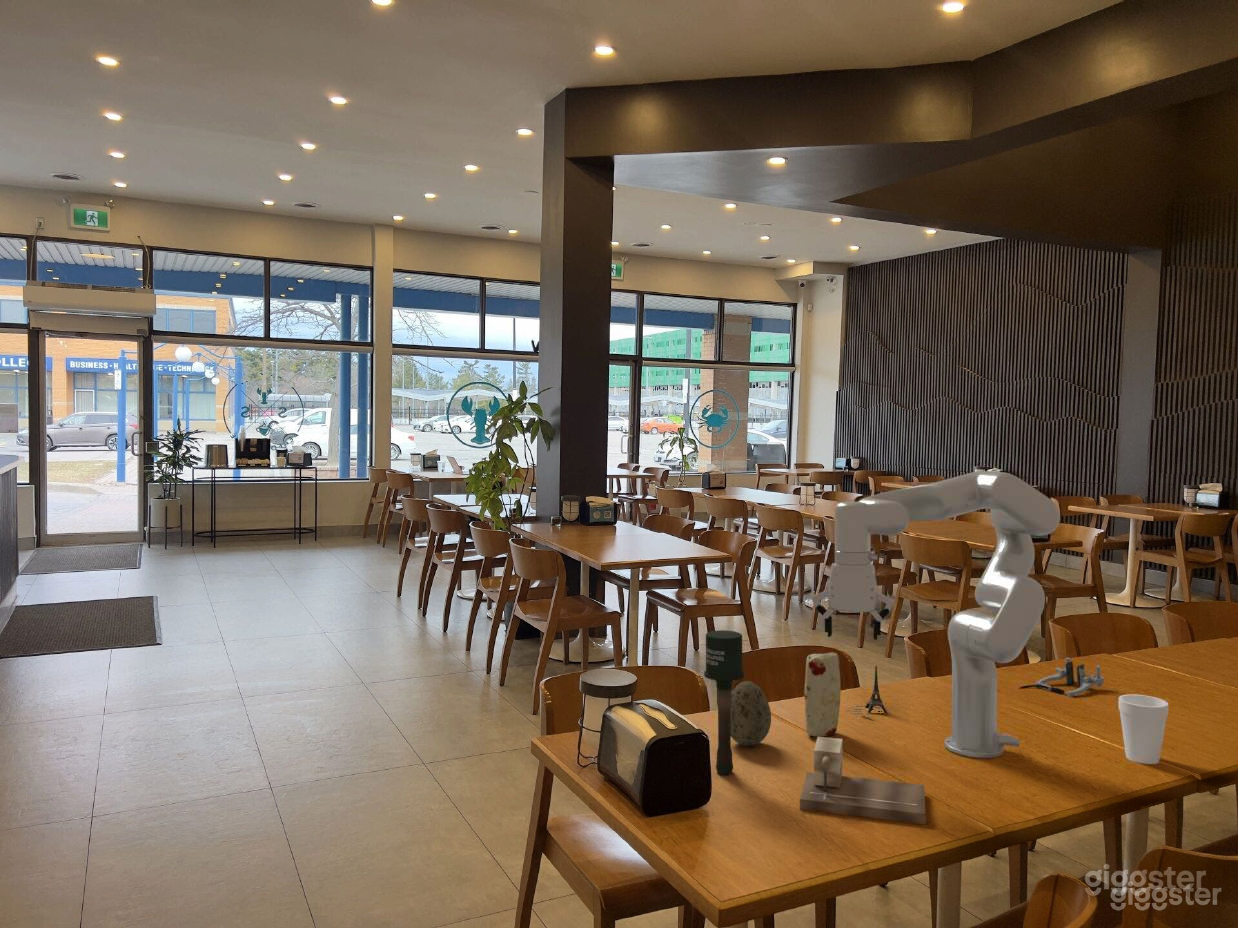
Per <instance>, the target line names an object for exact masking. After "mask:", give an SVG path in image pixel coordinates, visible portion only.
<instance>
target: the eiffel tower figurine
mask: <svg viewBox="0 0 1238 928" xmlns="http://www.w3.org/2000/svg"><path fill="white" fill-rule="evenodd" d="M874 670H875V671H874V683H873V690H872V695H871V697H869V700H868V702H867V705H866V706H860V707H865V708H868V707H869V710H868V712H866V714H867V713H868V714H867V715H873V714H872V713H871V711H872V710H874V709H873V707H874V708H875V707H876V706H877V707H879V708H880V707H881V708H882V709H883V711H884V713H881V714H880V713H875V714H874V715H889V712H888V710H887V709H886V708H885V706H884V703H883V700H882V698H881V695H880V691H879V680H878V667H877V665H875V666H874ZM854 707H859V705H856V706H854ZM854 707H852V708H854ZM854 710H856V711H853V712H861V711H857V710H863V709H854ZM878 712H880V711H878ZM881 712H882V711H881ZM887 712H888V713H887ZM869 713H870V714H869ZM857 714H862V713H857ZM857 714H856V713H855V714H854V715H857ZM862 715H863V714H862ZM868 717H869V716H868ZM868 717H861V718H863V719H866V720H869V719H868Z"/></svg>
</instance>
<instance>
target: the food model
mask: <svg viewBox="0 0 1238 928" xmlns="http://www.w3.org/2000/svg"><path fill="white" fill-rule="evenodd" d="M805 661H806V662H805V663H806V664H805V679H804V693H803V694H804V713H805V728H806V734H807V735H808V736H813V737H816V738H818V737H826V736H827V737H828V736H832V735H835V734H836V732H837V730H838V725H839V724H838V723H839V716H840V707H841V706H840V705H841V671H840V670H841V669H840V667H841V666H840V658H839V655H838V654H837V653H836V652H826V653H811V654H808V655H807V657H806V660H805Z"/></svg>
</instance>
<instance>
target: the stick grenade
mask: <svg viewBox="0 0 1238 928" xmlns="http://www.w3.org/2000/svg"><path fill="white" fill-rule="evenodd" d="M703 674H704V676H703V677H704V678H706V679H709V680H712V681H715V683H716V686H715V687H716V705H717V745H718V746H717V750H716V762H715V763H716V765H715V769H716V772H717V773H718V774H719V775H723V776H724V775H725V776H726V775H730V774H732V773H733V770H734V763H733V751H732V747H731V746H732V745H731V743H732V742H731V739H732V737H731V704H732V691H733V689H732V688H733V682H735V681H739V680H743V678H745V671H744V670H743V635H742V633H740V632H738V631H734V630H724V629H723V630H712V631H708V632H706V634H705V671H704V672H703Z"/></svg>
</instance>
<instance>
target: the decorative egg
mask: <svg viewBox="0 0 1238 928" xmlns="http://www.w3.org/2000/svg"><path fill="white" fill-rule="evenodd" d="M771 724H772V713H771V707H770V704H769V701H768V698H767V697H766V695H765V693H764V692H763V691H762V689H761V688H760V687H759V686H758V685H757V684H756V683H754V682H752V681H751V680H750V681H748V680H745V681H742V682H740V683H738V684H737V685H736V686H735V687H734V688H733V689H732V704H731V739H732V740H734V742H736V743H738V744H739V745H741V746H745V747H753V746H756V745H758V744H760V743H761V742H763V740H764V739H765V738H766V737H767V735H768V733H770V729H771V726H772V725H771Z"/></svg>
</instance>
